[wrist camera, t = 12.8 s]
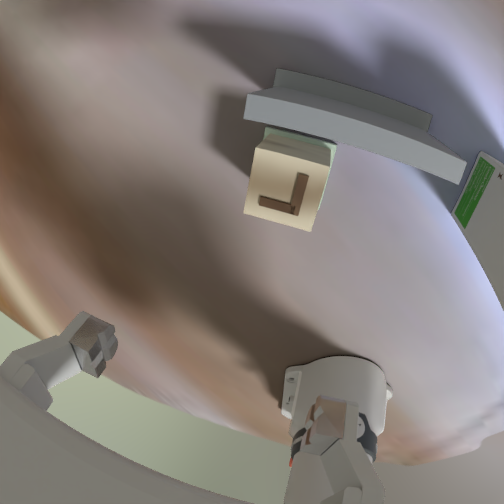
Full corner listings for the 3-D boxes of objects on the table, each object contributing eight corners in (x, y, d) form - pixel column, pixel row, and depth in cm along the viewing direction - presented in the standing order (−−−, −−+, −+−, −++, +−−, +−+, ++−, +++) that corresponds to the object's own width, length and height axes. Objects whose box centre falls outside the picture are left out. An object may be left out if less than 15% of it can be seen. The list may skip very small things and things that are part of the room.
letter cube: (315, 204, 32) (310, 233, 27) (258, 188, 32) (242, 214, 27) (330, 149, 28) (330, 167, 23) (270, 133, 29) (254, 147, 24)
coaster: (319, 207, 32) (318, 209, 32) (254, 189, 33) (253, 191, 33) (336, 144, 28) (336, 145, 28) (266, 126, 29) (265, 127, 29)
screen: (415, 160, 27) (454, 210, 17) (268, 116, 29) (231, 143, 19) (430, 114, 24) (481, 141, 14) (277, 68, 26) (244, 65, 16)
